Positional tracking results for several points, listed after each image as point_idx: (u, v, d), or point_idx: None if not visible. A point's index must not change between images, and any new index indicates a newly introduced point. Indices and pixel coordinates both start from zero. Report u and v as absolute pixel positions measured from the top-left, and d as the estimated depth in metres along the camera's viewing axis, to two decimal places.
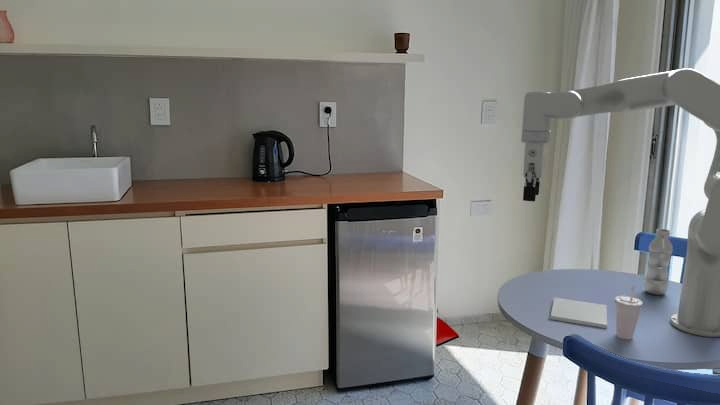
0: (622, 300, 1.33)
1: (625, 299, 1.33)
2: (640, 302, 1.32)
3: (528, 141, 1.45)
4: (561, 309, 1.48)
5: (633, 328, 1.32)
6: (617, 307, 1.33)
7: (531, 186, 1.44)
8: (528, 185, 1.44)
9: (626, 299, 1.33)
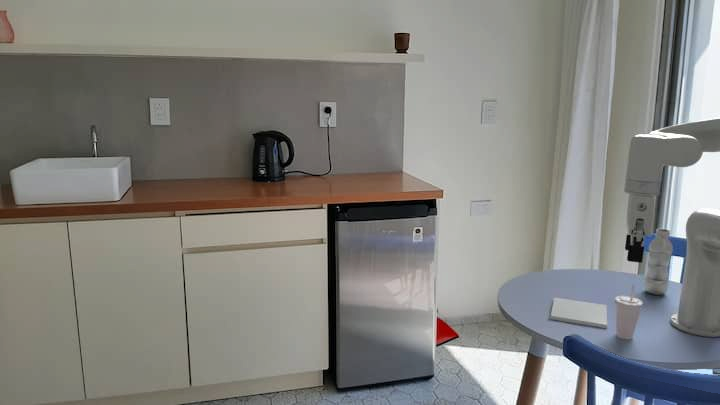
0: (622, 300, 1.33)
1: (625, 299, 1.33)
2: (640, 302, 1.32)
3: (635, 193, 1.24)
4: (561, 309, 1.48)
5: (633, 328, 1.32)
6: (617, 307, 1.33)
7: (639, 245, 1.24)
8: (635, 244, 1.24)
9: (626, 299, 1.33)
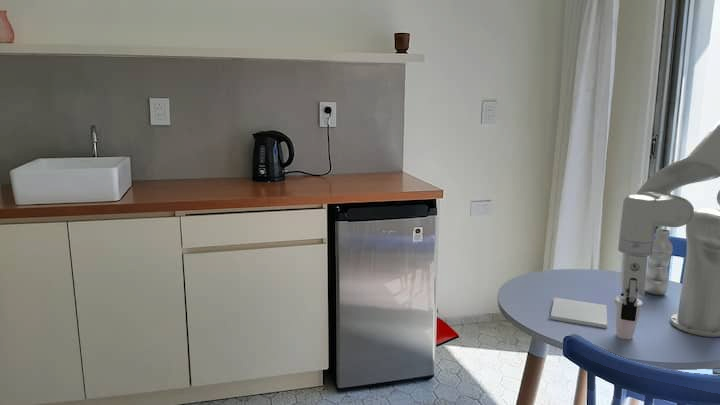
0: (622, 300, 1.33)
1: None
2: (640, 302, 1.32)
3: (629, 252, 1.27)
4: (561, 309, 1.48)
5: (633, 328, 1.32)
6: (617, 307, 1.33)
7: (632, 306, 1.28)
8: (628, 304, 1.28)
9: None
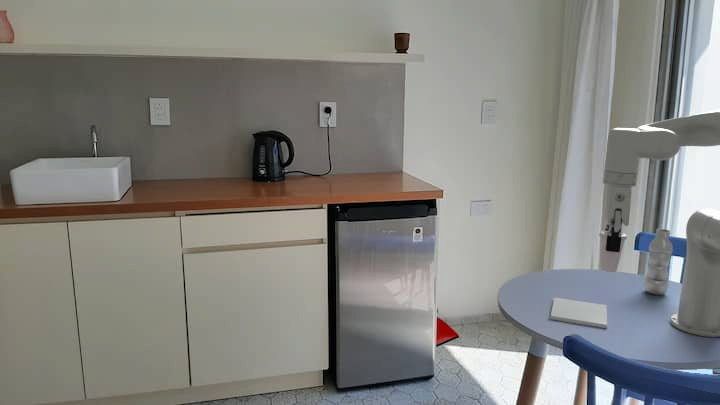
0: (607, 233, 1.35)
1: None
2: (624, 235, 1.34)
3: (614, 184, 1.30)
4: (561, 309, 1.48)
5: (617, 260, 1.35)
6: (602, 240, 1.35)
7: (616, 236, 1.31)
8: (613, 235, 1.31)
9: None
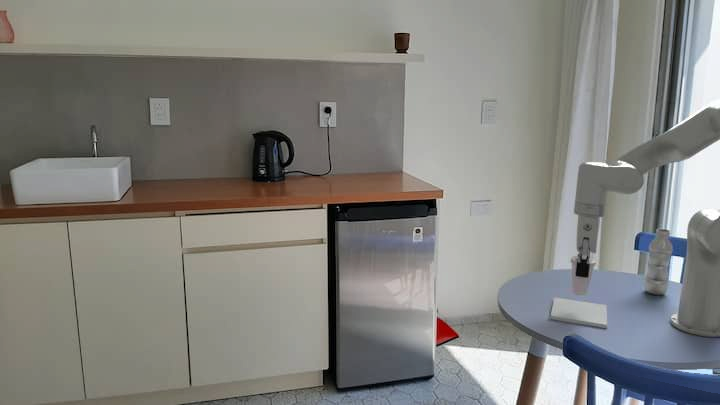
0: (577, 259, 1.45)
1: None
2: (593, 261, 1.44)
3: (582, 214, 1.39)
4: (561, 309, 1.48)
5: (587, 285, 1.44)
6: (573, 265, 1.45)
7: (585, 263, 1.40)
8: (582, 262, 1.40)
9: None
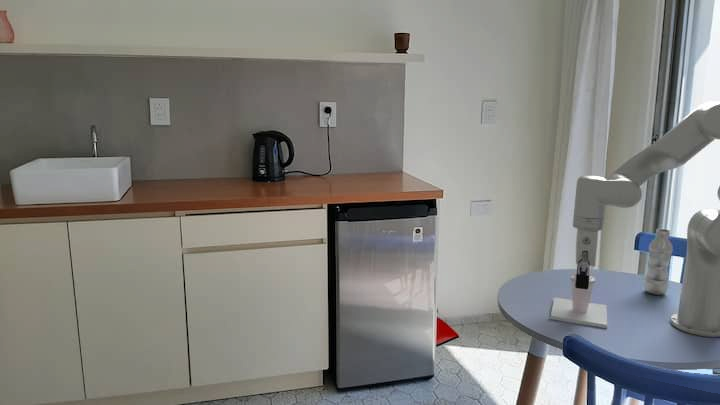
0: None
1: None
2: (593, 279, 1.45)
3: (581, 228, 1.40)
4: (561, 309, 1.48)
5: (587, 303, 1.45)
6: (572, 284, 1.46)
7: (585, 274, 1.40)
8: (581, 273, 1.40)
9: None
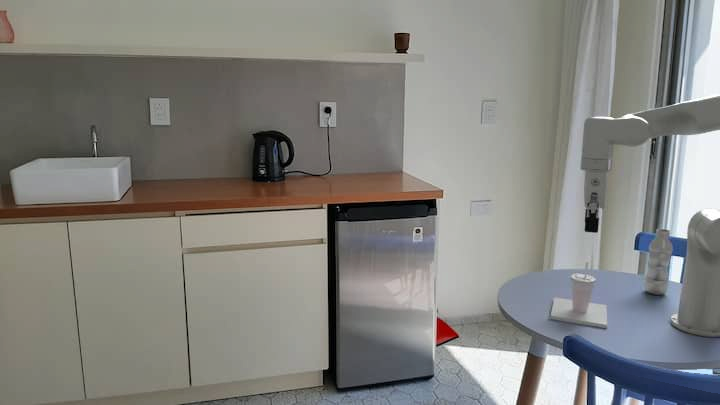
0: (577, 277, 1.46)
1: (580, 276, 1.46)
2: (593, 279, 1.45)
3: (590, 169, 1.37)
4: (561, 309, 1.48)
5: (587, 303, 1.45)
6: (572, 283, 1.46)
7: (594, 217, 1.37)
8: (591, 216, 1.37)
9: (581, 276, 1.46)
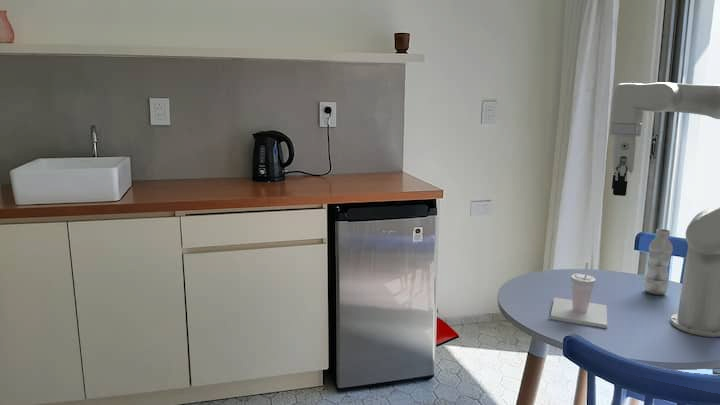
0: (577, 277, 1.46)
1: (580, 276, 1.46)
2: (593, 279, 1.45)
3: (619, 134, 1.41)
4: (561, 309, 1.48)
5: (587, 303, 1.45)
6: (572, 283, 1.46)
7: (623, 180, 1.41)
8: (620, 179, 1.41)
9: (581, 276, 1.46)
